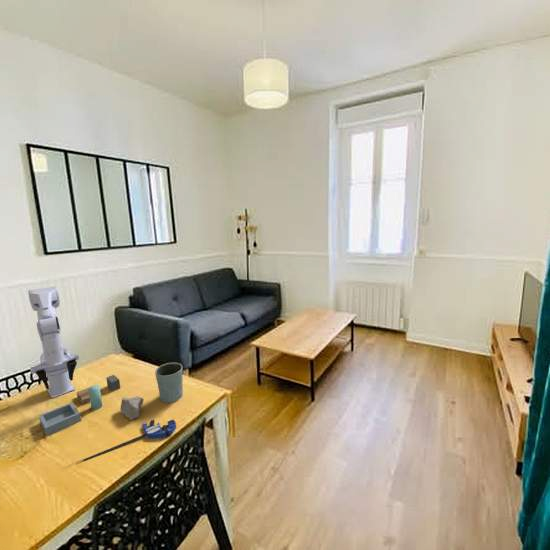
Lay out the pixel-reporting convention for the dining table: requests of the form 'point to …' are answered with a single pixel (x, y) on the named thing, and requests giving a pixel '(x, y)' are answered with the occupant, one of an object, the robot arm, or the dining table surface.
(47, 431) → the tray
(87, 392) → the tan cardboard box
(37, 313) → the robot arm
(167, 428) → the bar clamp
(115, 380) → the dark grey block
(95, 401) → the dowel
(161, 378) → the grey green cup
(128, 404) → the stone
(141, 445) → the dining table surface
